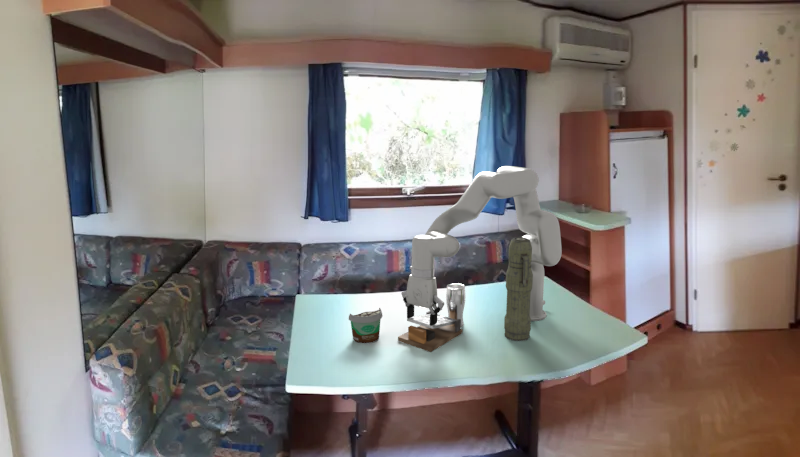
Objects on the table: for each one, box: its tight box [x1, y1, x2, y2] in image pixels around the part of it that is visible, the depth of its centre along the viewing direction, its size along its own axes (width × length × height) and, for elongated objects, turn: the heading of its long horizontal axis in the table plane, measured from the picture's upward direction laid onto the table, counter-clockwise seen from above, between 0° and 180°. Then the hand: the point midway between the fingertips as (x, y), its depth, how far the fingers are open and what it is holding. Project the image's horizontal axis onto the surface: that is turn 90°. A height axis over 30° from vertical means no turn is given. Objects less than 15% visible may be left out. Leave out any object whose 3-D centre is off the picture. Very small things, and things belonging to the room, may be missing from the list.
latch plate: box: [397, 310, 464, 353], centre depth 176 cm, size 19×14×6 cm
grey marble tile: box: [406, 313, 456, 329], centre depth 176 cm, size 15×11×2 cm
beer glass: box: [445, 283, 466, 328], centre depth 185 cm, size 7×7×15 cm
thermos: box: [503, 236, 533, 342], centre depth 173 cm, size 9×12×35 cm
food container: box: [348, 307, 384, 344], centre depth 173 cm, size 12×6×10 cm, turn 117°
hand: (421, 320), depth 171 cm, fingers open, 9 cm apart
